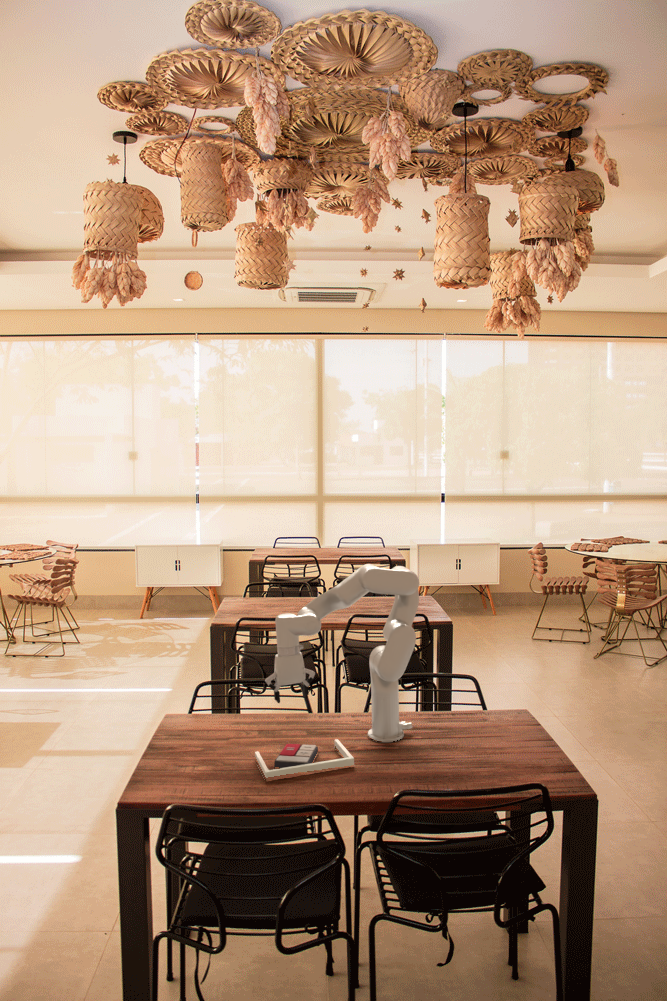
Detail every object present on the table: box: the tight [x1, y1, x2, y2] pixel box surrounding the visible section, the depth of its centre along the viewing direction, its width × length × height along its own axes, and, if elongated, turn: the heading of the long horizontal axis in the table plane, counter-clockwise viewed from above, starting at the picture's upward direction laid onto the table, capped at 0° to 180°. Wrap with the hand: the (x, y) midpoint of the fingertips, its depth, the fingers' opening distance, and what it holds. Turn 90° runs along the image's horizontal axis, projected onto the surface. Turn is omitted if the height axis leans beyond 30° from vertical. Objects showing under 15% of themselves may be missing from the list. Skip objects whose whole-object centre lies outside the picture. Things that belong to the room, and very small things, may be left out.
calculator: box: [273, 743, 319, 768], centre depth 229 cm, size 11×4×15 cm
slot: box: [254, 738, 355, 778], centre depth 228 cm, size 28×16×3 cm, turn 108°
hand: (291, 699), depth 243 cm, fingers open, 9 cm apart
